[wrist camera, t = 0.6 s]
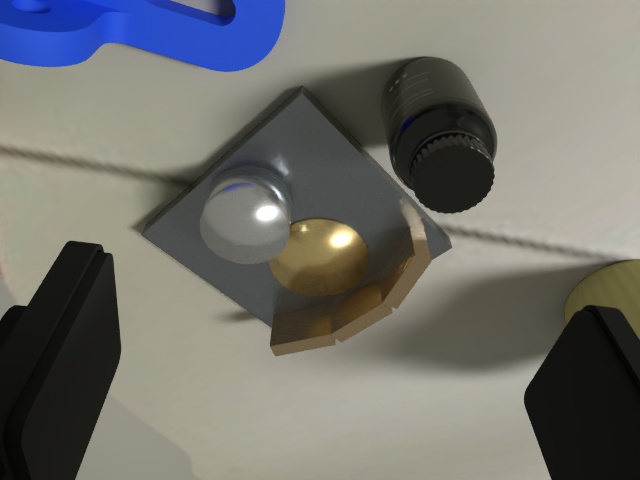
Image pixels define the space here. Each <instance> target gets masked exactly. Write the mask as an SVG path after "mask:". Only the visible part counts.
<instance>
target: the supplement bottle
mask: <svg viewBox="0 0 640 480" xmlns="http://www.w3.org/2000/svg"><path fill="white" fill-rule="evenodd" d="M382 115H383V121H384V127H385V132H386V138H387V144H388V149H389V155H390V159H391V164H392V167H393V170H394V172H395V174H396V175H397V177H398V178H399V179H400V181H401V182H402V183H403V184H404V185H406V186H407V187H408V188H410V189H411V190H413V191H414V192H415V196H416V197H417V198H418V199H419V202H420V203H422V204H424V206H425V207H427V208H429V209H430V210H432V211H436V212H438V213H444V214H447V213H452V214H453V213H456V212H462V211H464V210H468V209H470V208H471V207H474V206H476V205H477V203H479V202H481V201H482V200H483V198H485V197H486V196H487V193H488V192H489V191H490V190H491V186H492V185H493V179H494V177H495V175H494V166H493V161H494V158H495V155H496V151H497V135H496V131H495V128H494V125H493V123H492V121H491V119H490V117H489V115H488V113H487V111H486V109H485V108H484V106H483V104H482V102H481V100H480V99H479V97H478V95H477V93H476V91H475V89H474V88H473V86H472V84H471V82H470V81H469V79H468V77H467V76H466V74H465V73H464V72H463V71H462V70H461V69H460V68H459V67H458V66H457V65H455V64H454V63H452V62H450V61H448V60H445V59H441V58H431V57H430V58H422V59H418V60H415V61H412V62H410V63H408V64H406V65H405V66H403V67H402V68H400V69H399V70H398V71H397V72H396V73H395V74H394V75H393V76H392V77H391V79H390V80H389V82H388V83H387V85H386V87H385V90H384V93H383V97H382Z"/></svg>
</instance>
